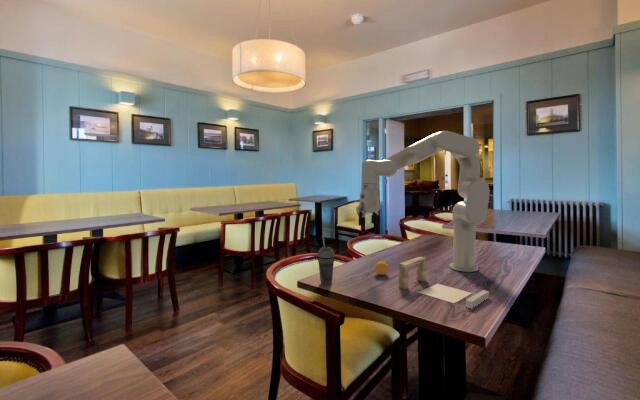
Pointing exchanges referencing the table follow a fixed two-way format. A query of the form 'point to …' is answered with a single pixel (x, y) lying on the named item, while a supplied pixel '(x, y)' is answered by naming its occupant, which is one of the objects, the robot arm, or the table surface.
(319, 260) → the beverage cup
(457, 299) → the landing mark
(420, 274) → the bridge
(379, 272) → the ball
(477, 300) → the wall
